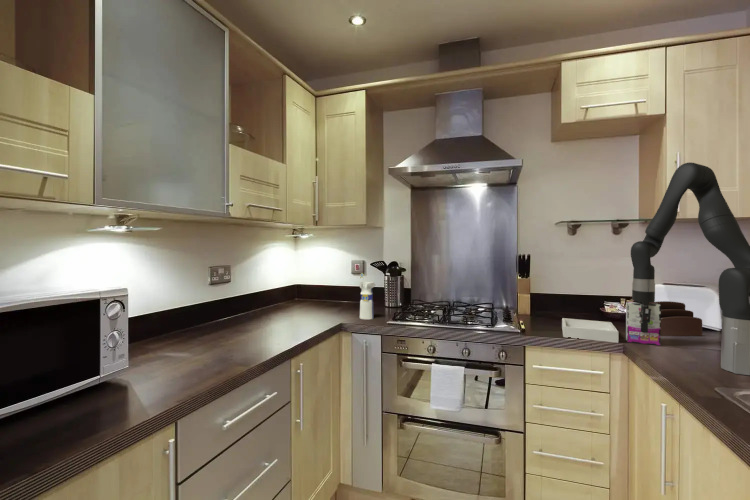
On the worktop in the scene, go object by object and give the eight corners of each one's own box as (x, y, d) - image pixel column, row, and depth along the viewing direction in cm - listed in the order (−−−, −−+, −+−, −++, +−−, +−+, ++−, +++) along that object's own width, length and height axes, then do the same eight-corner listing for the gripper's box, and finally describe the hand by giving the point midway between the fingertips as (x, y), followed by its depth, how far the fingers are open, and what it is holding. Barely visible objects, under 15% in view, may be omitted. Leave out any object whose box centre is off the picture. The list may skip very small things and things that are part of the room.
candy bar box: (657, 342, 148) (658, 303, 148) (660, 345, 144) (661, 305, 144) (625, 339, 154) (625, 300, 153) (626, 342, 149) (627, 302, 149)
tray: (618, 342, 148) (618, 331, 148) (563, 337, 157) (563, 326, 157) (610, 331, 166) (611, 322, 166) (562, 327, 175) (562, 318, 175)
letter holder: (641, 330, 169) (642, 300, 169) (683, 330, 169) (683, 301, 169) (658, 336, 159) (659, 304, 159) (702, 336, 159) (703, 304, 159)
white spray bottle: (372, 320, 189) (373, 272, 189) (357, 319, 191) (357, 272, 191) (376, 316, 197) (376, 271, 197) (361, 316, 199) (361, 270, 199)
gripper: (659, 292, 140) (658, 336, 141) (650, 288, 153) (649, 328, 153) (636, 291, 143) (635, 333, 144) (629, 287, 156) (628, 326, 157)
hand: (642, 330), depth 149 cm, fingers closed on candy bar box, 5 cm apart
